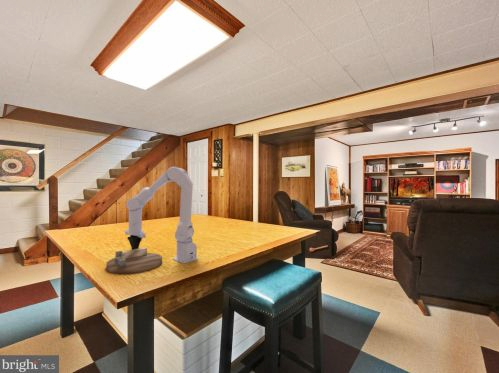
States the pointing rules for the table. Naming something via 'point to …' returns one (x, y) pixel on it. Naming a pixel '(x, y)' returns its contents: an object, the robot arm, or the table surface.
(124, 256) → the folding leg
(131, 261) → the stool seat
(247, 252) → the table surface
